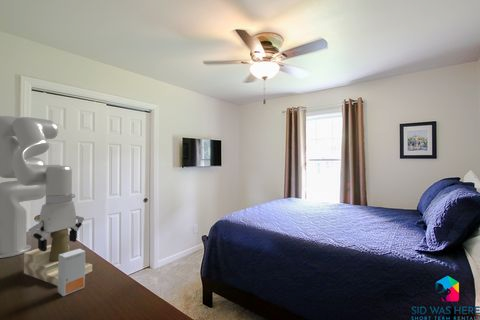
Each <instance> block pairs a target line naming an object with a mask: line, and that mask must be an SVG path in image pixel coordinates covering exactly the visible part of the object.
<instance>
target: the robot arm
mask: <svg viewBox="0 0 480 320" xmlns="http://www.w3.org/2000/svg"><path fill="white" fill-rule="evenodd" d="M58 134H59V128H58V125H56V123H55V122H54V121H53V120H50V119H46V118H45V119H44V118H37V117H30V116H29V117H28V116H27V117H26V116H22V117H21V116H20V117H18V116H11V115H10V116H9V115H0V178H3V179H16V180H11V181H9V180H8V181H3V182H0V259H3V258H5V259H6V258H10V257H15V256H18V255H21V254H24V253H25V252H28V251H31V248H32V246H31V245H30V244H27V210H26V208H25V207H24V206H22V205H21V203H22V202H30V201H36V200H41V199H43V198H44V197H45V203H44V204H42V206H41V209H40V213H39V221H38V223H36V224H35V225H33V226H32V227H30V228H29V229H28V232H29V234H30V235H31V237H32V238H35V239H36V240H38V241H37V249H39V250H40V251H46V250H47V246H48V244H47V243H48V239H46V238H47V236H48V235H49V234H51V233H52V232H56V231H60V230H64V229H68V230H69V229H70V230H69V231H68V235H69V237H68V239H69V242H73V243H75V242H77V238H78V231H79V229H80V228H81V226H82V224H83V222H84V220H85V217H83V216H78V215H77V214H76V213H77V212H76V206H75V202H74V200H73V199H74V198H76V194H75V193H73V188H72V187H73V169H72V167H71V166H69V165H60V164H45V162H44V161H43V160H42V158H40V157H37V156H40V155H43V154H44V153H46V152H47V151H49V148H50V143H49V142H48V140H52V139H55V138H56V137H57V136H58ZM15 137H16V138H15ZM37 230H38V231H39V233H38V232H37Z"/></svg>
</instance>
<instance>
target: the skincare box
mask: <svg viewBox="0 0 480 320" xmlns="http://www.w3.org/2000/svg"><path fill="white" fill-rule="evenodd" d="M85 263H86V250H85V249H84V250H83V249H82V248H76V249H74V250H69V252H66V253H63V254H59V261H58V286H57V293H58V294H59V295H61V296H62V297H65V296H68V295H70V294H72V293H74V292H77V291H80V290H83V289H84V288H85V286H86V285H85V283H86V281H85V280H86V274H85Z"/></svg>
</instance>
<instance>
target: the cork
mask: <svg viewBox="0 0 480 320" xmlns="http://www.w3.org/2000/svg"><path fill="white" fill-rule="evenodd" d="M49 234H50V238H51V244H50V245H51V250H50V256H49V261H50V262H57V261H59V254H63V253H66V252H69V251H70V247H69V248H68V245H69V244H68V243H69V242H68V235H69V228H68V229H64V230H60V231H56V232H52V233H49Z"/></svg>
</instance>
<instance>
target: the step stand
mask: <svg viewBox="0 0 480 320" xmlns="http://www.w3.org/2000/svg"><path fill="white" fill-rule="evenodd" d="M51 245H52V244H49V245H47V250H46V251H40V250H39V249H38V248H35V249H32V250H29V251H27V252H25V253H23V274H25V275H27V276H29V277H32V278H35V279H38V280H41V281H44V282H46V283H48V284H52V285H54V286H56V287H58V261H57V262H50V261H49V256H50V250H51ZM68 248H69V249H70V245H69V244H68ZM91 272H93V264H92V263H89V262H85V275H87V274H90V273H91Z"/></svg>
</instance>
